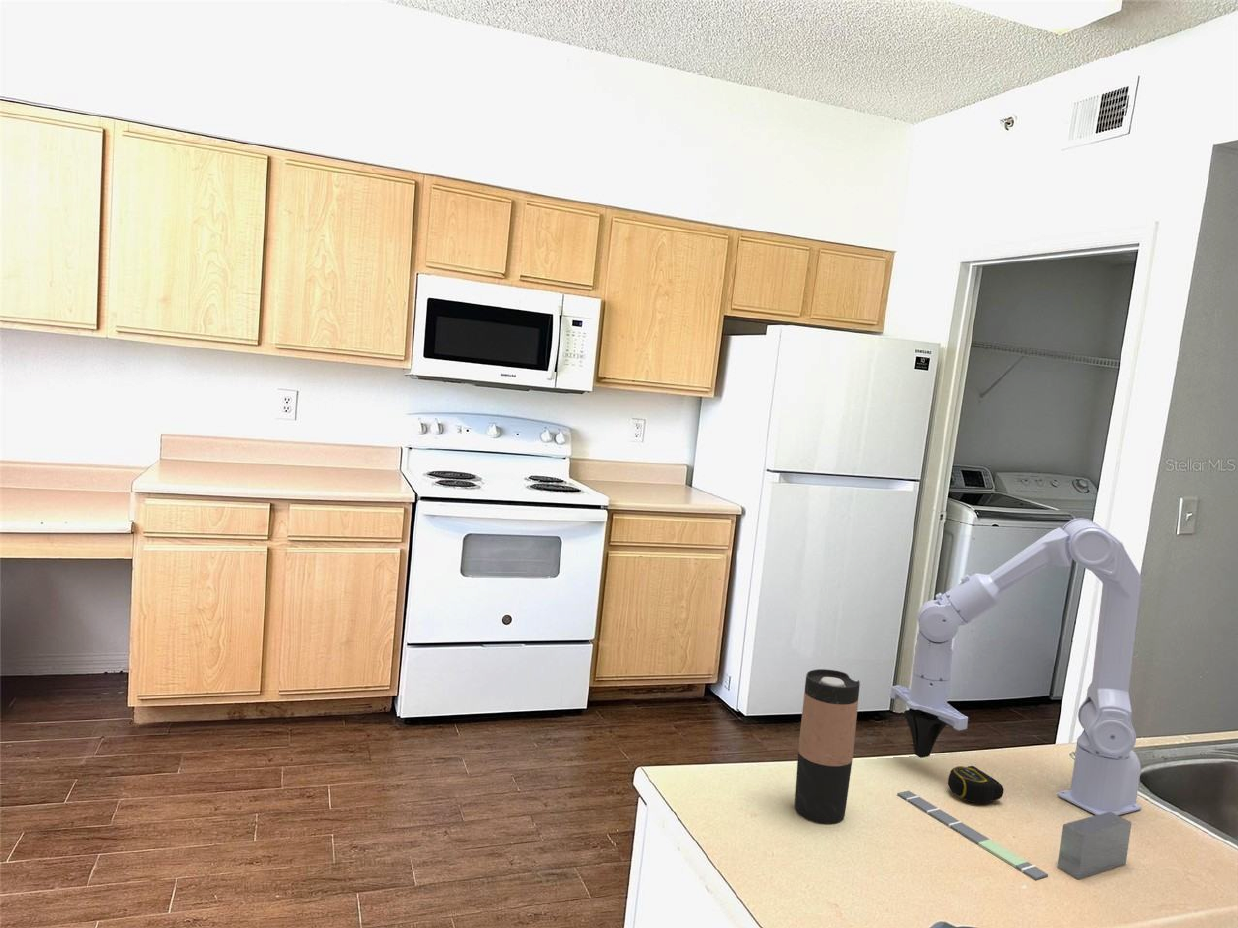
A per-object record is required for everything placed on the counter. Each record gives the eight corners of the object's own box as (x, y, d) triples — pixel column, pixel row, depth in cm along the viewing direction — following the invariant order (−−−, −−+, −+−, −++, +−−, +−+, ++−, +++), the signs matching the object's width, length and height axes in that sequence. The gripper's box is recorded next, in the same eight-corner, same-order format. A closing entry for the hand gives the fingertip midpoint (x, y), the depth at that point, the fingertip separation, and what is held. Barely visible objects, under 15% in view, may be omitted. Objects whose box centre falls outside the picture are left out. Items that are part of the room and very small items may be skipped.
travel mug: (787, 816, 124) (801, 680, 122) (797, 794, 131) (810, 665, 129) (842, 830, 121) (857, 691, 119) (849, 806, 128) (863, 675, 126)
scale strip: (908, 792, 134) (909, 789, 134) (1048, 876, 113) (1048, 873, 113) (897, 794, 133) (897, 792, 133) (1035, 880, 112) (1035, 877, 112)
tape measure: (1004, 805, 133) (1007, 782, 132) (967, 809, 130) (970, 785, 130) (973, 785, 139) (976, 762, 139) (937, 788, 137) (940, 765, 137)
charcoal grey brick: (1100, 850, 121) (1106, 809, 120) (1125, 864, 118) (1131, 821, 117) (1053, 864, 116) (1059, 822, 116) (1078, 879, 113) (1084, 835, 112)
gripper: (880, 662, 146) (872, 740, 147) (948, 693, 133) (939, 778, 135) (911, 658, 149) (902, 735, 151) (980, 688, 136) (971, 771, 138)
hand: (922, 755), depth 143 cm, fingers closed
